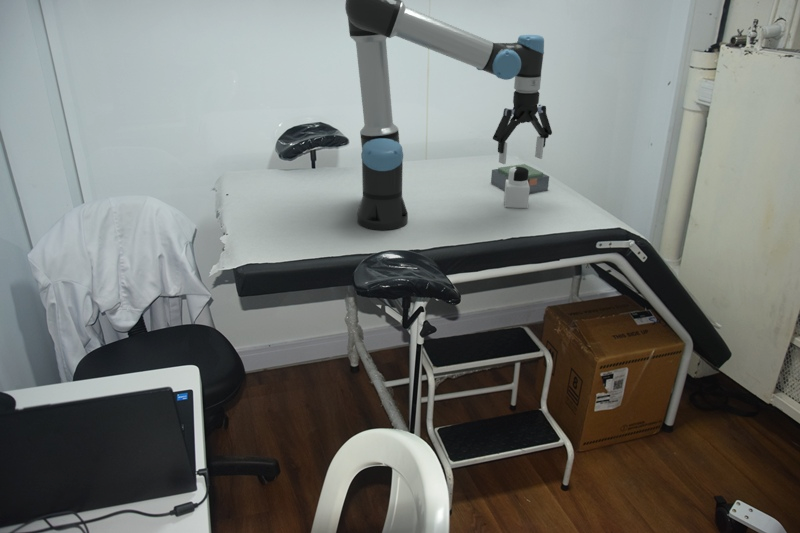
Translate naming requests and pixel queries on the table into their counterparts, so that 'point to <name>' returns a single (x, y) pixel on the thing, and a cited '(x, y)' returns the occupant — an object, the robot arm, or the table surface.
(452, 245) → the table surface
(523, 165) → the stand
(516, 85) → the robot arm
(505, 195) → the medicine bottle
